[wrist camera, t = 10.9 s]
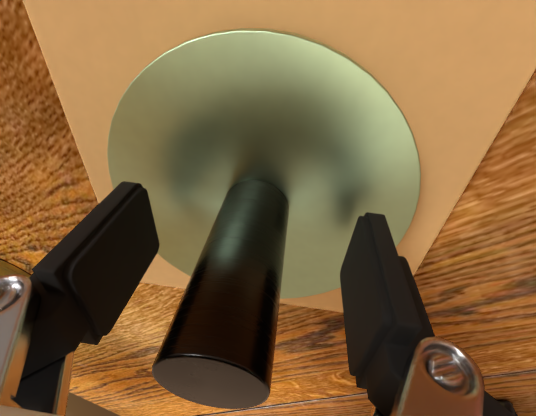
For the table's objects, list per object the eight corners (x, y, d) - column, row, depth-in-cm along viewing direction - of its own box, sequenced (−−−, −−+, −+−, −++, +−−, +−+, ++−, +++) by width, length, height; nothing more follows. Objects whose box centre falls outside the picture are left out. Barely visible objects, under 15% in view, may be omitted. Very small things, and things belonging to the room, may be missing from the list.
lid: (152, 264, 16) (55, 427, 10) (82, 8, 9) (-419, 38, 3) (363, 294, 15) (396, 489, 9) (475, 45, 8) (954, 190, 2)
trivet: (131, 273, 18) (126, 280, 17) (7, -84, 8) (-12, -88, 8) (385, 310, 17) (388, 319, 17) (584, -41, 7) (602, -43, 7)
